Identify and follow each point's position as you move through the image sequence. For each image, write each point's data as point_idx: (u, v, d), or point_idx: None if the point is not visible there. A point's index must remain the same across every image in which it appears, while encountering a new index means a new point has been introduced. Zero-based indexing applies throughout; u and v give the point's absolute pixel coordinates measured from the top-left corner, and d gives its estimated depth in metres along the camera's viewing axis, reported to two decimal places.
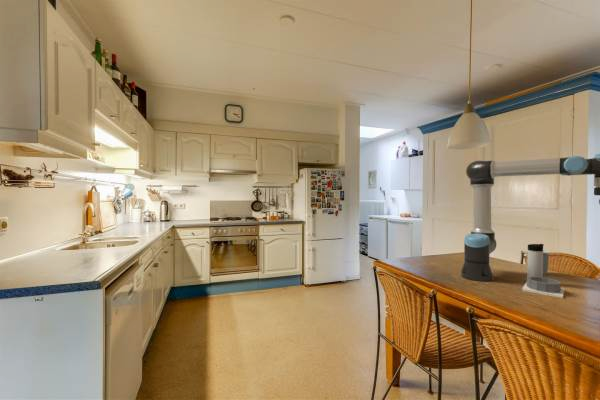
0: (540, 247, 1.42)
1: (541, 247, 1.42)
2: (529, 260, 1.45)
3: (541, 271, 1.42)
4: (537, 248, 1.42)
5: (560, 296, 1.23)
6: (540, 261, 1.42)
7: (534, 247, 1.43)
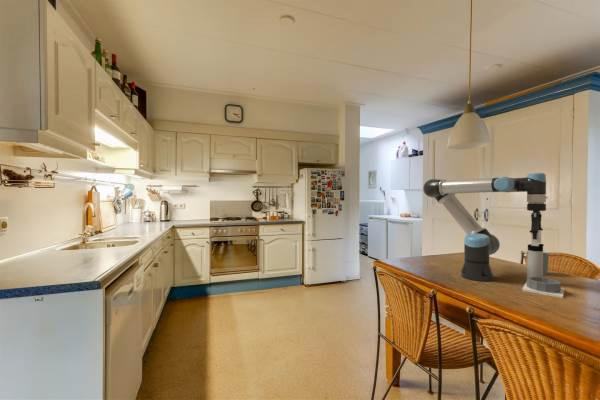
0: (540, 247, 1.42)
1: (541, 247, 1.42)
2: (529, 260, 1.45)
3: (541, 271, 1.42)
4: (537, 248, 1.42)
5: (560, 296, 1.23)
6: (540, 261, 1.42)
7: (534, 247, 1.43)
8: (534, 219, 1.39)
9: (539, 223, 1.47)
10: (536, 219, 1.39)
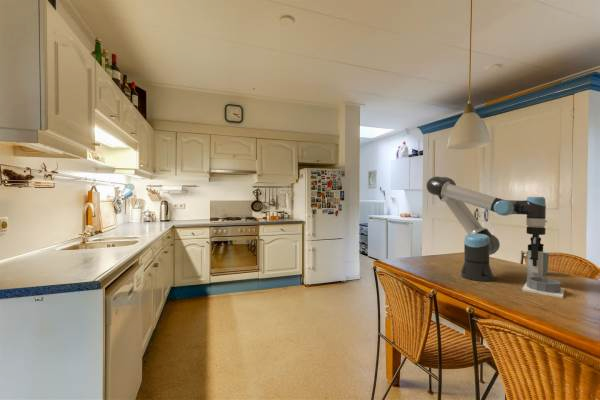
0: (540, 247, 1.42)
1: (541, 247, 1.42)
2: (529, 260, 1.45)
3: (541, 271, 1.42)
4: None
5: (560, 296, 1.23)
6: (540, 261, 1.42)
7: None
8: (534, 246, 1.40)
9: None
10: (536, 246, 1.40)
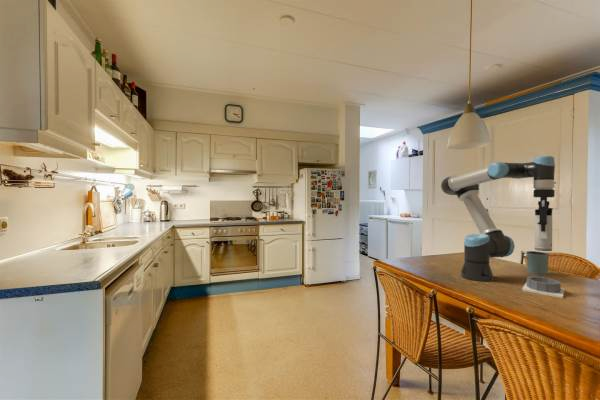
0: (549, 211, 1.30)
1: (550, 211, 1.30)
2: (537, 226, 1.33)
3: (550, 237, 1.30)
4: None
5: (560, 296, 1.23)
6: (549, 226, 1.30)
7: None
8: (542, 209, 1.28)
9: None
10: (544, 209, 1.28)
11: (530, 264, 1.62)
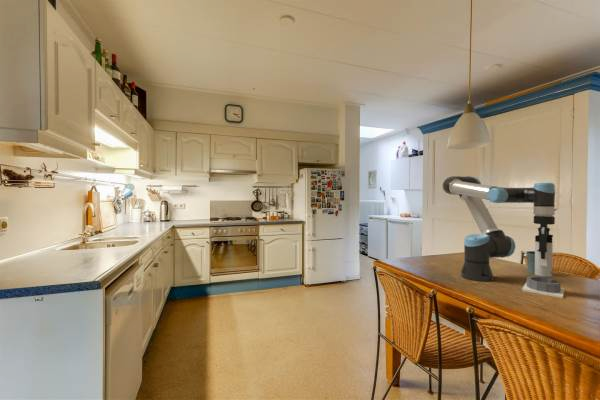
0: (549, 238, 1.29)
1: (550, 238, 1.29)
2: (537, 252, 1.32)
3: (550, 265, 1.29)
4: None
5: (560, 296, 1.23)
6: (549, 253, 1.29)
7: None
8: (542, 237, 1.28)
9: None
10: (544, 237, 1.27)
11: (530, 264, 1.62)
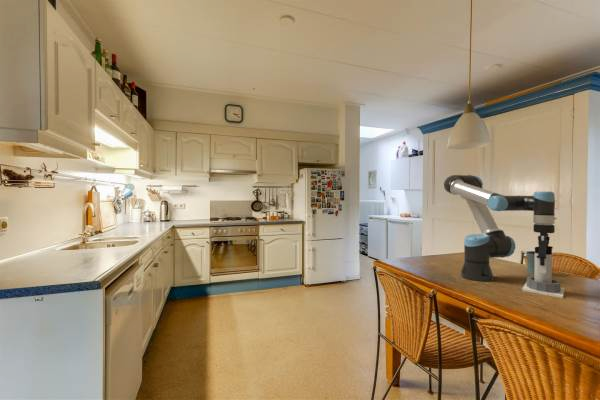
0: (549, 250, 1.29)
1: (550, 250, 1.29)
2: (536, 264, 1.32)
3: (549, 277, 1.29)
4: None
5: (560, 296, 1.23)
6: (549, 265, 1.29)
7: None
8: (541, 243, 1.27)
9: (546, 246, 1.34)
10: (544, 243, 1.26)
11: (530, 264, 1.62)
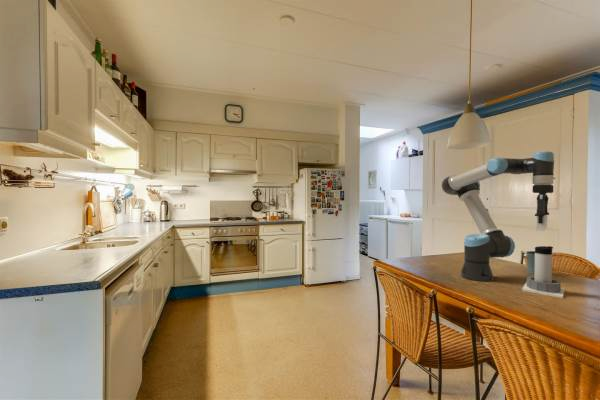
0: (549, 250, 1.29)
1: (550, 250, 1.29)
2: (537, 264, 1.32)
3: (549, 277, 1.29)
4: (546, 251, 1.29)
5: (560, 296, 1.23)
6: (549, 265, 1.29)
7: (542, 250, 1.30)
8: (540, 201, 1.28)
9: (545, 207, 1.35)
10: (542, 201, 1.27)
11: (530, 264, 1.62)
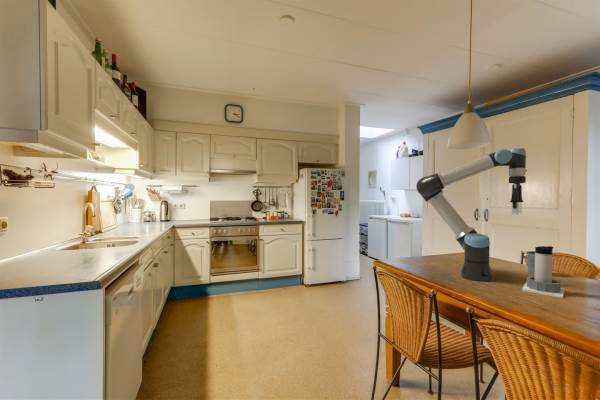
0: (549, 250, 1.29)
1: (550, 250, 1.29)
2: (537, 264, 1.32)
3: (550, 277, 1.29)
4: (546, 251, 1.29)
5: (560, 296, 1.23)
6: (549, 265, 1.29)
7: (543, 250, 1.30)
8: (514, 190, 1.52)
9: (520, 195, 1.60)
10: (516, 190, 1.51)
11: (530, 264, 1.62)
